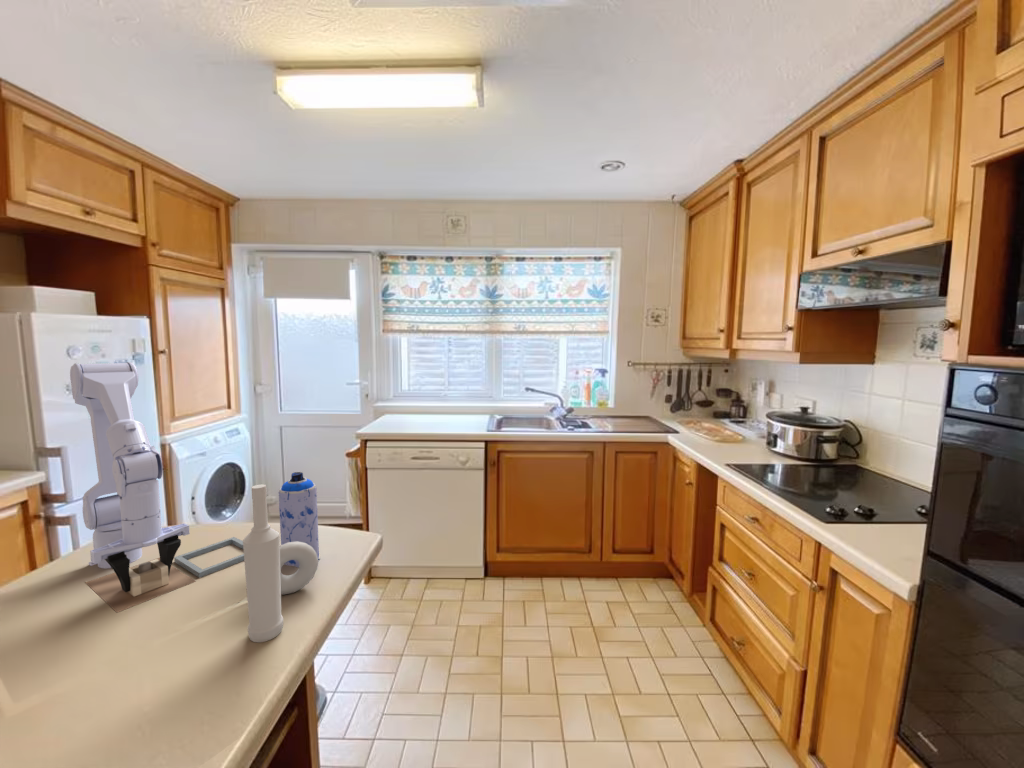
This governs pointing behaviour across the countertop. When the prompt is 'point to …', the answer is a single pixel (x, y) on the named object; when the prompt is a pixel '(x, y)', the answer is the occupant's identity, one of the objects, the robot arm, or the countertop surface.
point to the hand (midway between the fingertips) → (146, 582)
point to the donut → (306, 567)
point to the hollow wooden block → (148, 578)
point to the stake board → (122, 600)
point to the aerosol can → (299, 513)
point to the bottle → (262, 572)
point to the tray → (197, 570)
